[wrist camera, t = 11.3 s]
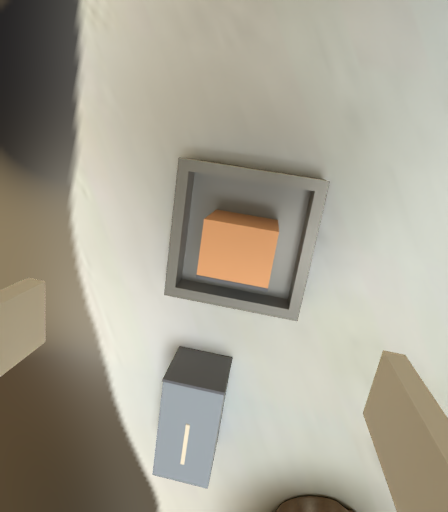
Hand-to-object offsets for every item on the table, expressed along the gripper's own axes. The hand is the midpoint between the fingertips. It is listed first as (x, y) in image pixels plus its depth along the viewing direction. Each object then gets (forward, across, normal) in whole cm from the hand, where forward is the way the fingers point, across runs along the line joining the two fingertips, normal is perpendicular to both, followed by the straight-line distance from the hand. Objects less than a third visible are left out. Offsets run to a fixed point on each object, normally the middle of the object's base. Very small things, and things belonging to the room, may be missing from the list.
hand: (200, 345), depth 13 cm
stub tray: (+22, 0, 0) cm, 22 cm away
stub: (+21, 0, 0) cm, 21 cm away
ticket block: (+22, -2, -20) cm, 30 cm away
